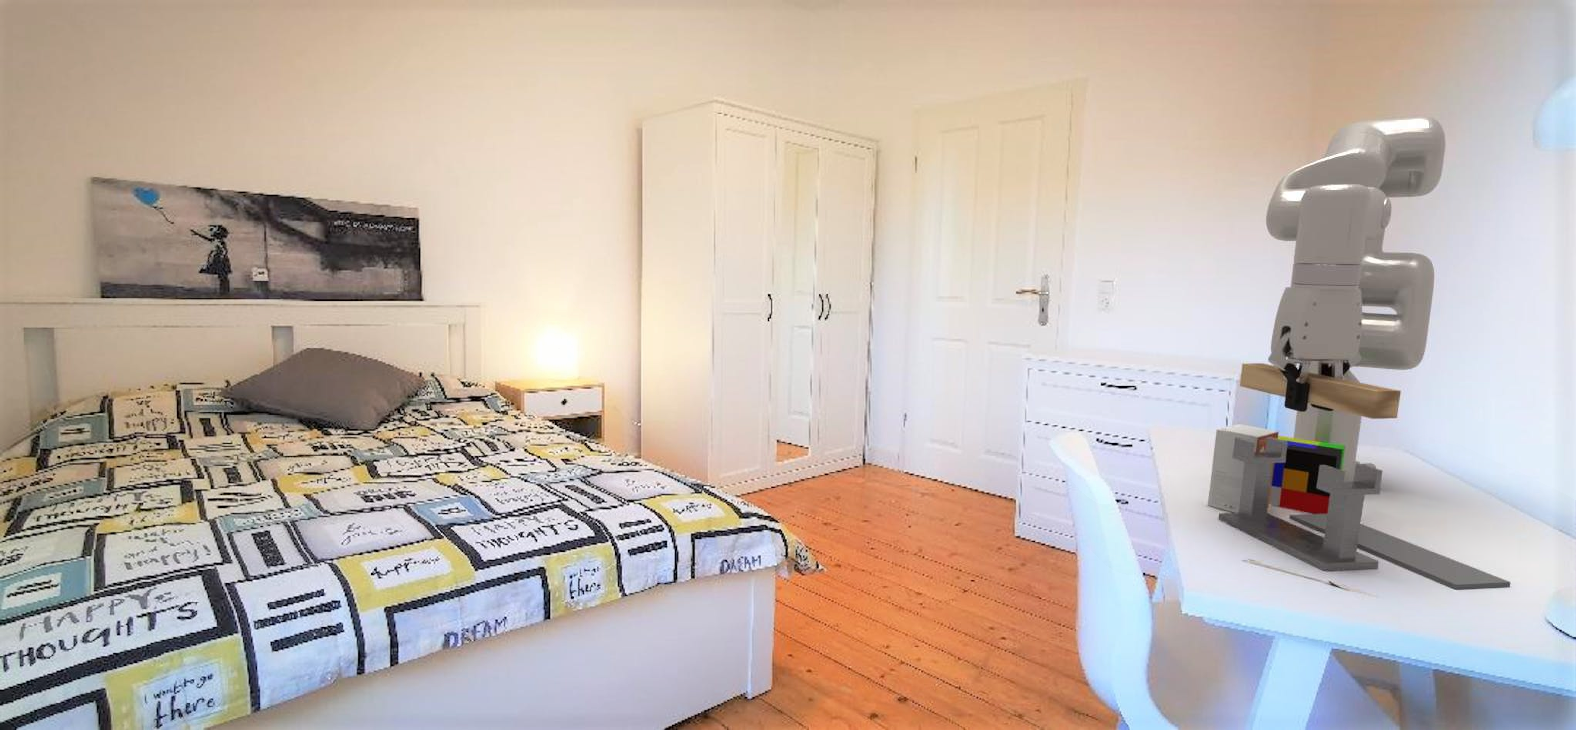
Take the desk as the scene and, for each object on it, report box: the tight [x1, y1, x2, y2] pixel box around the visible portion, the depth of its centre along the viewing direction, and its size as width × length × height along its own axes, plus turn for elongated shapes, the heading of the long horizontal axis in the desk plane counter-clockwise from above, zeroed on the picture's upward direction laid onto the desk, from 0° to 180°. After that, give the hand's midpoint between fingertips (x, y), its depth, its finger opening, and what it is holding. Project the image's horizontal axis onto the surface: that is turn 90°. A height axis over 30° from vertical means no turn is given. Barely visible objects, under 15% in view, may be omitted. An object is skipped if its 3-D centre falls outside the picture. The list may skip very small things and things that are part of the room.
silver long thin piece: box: [1242, 557, 1379, 599], centre depth 91 cm, size 4×1×19 cm
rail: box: [1239, 362, 1402, 420], centre depth 101 cm, size 4×22×4 cm, turn 8°
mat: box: [1288, 513, 1511, 590], centre depth 103 cm, size 8×25×1 cm, turn 8°
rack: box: [1217, 437, 1383, 572], centre depth 103 cm, size 8×19×13 cm, turn 8°
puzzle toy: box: [1269, 435, 1345, 514], centre depth 122 cm, size 10×10×10 cm
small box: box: [1207, 423, 1280, 513], centre depth 118 cm, size 8×6×13 cm
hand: (1308, 408), depth 102 cm, fingers closed on rail, 3 cm apart
